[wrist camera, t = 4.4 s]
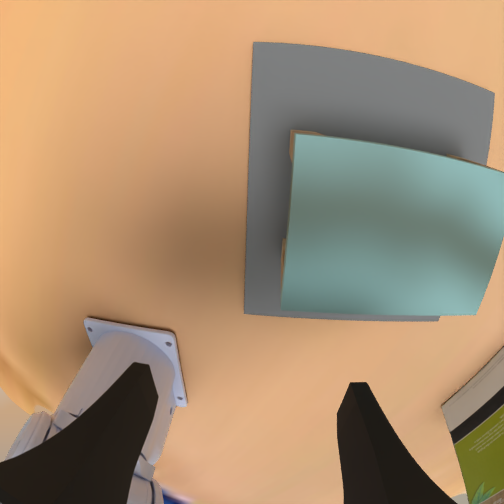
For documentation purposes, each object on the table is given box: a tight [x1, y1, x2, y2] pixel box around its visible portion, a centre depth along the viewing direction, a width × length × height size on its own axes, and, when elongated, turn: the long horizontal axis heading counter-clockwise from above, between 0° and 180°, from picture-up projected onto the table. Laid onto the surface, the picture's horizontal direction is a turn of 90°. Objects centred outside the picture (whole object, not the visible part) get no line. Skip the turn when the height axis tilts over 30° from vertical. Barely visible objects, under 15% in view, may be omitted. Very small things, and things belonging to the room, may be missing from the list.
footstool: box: [281, 130, 504, 316], centre depth 13 cm, size 7×10×5 cm
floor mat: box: [244, 42, 495, 321], centre depth 16 cm, size 16×14×1 cm
